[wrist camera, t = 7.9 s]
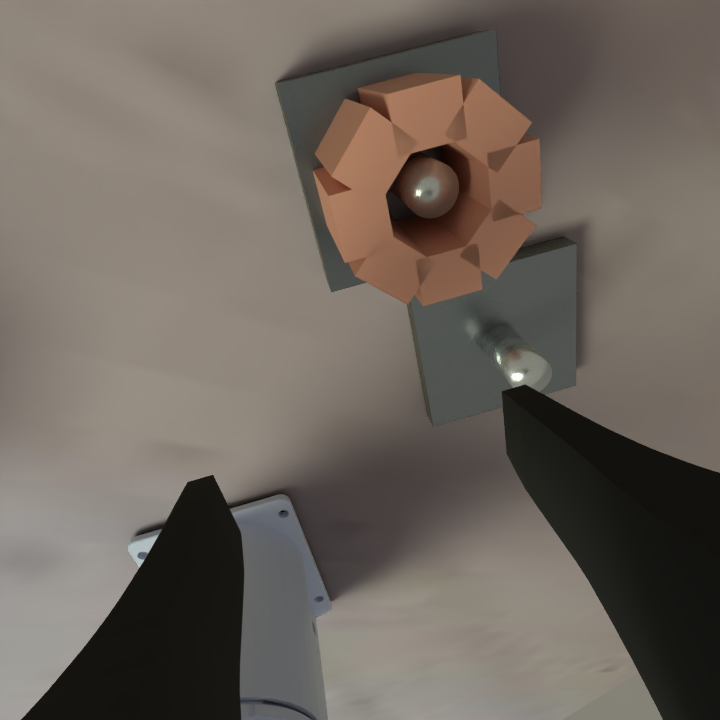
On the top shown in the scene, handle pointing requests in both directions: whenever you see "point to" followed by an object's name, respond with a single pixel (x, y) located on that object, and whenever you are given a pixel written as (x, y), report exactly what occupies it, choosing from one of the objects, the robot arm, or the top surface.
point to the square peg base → (330, 87)
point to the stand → (500, 334)
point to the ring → (460, 152)
